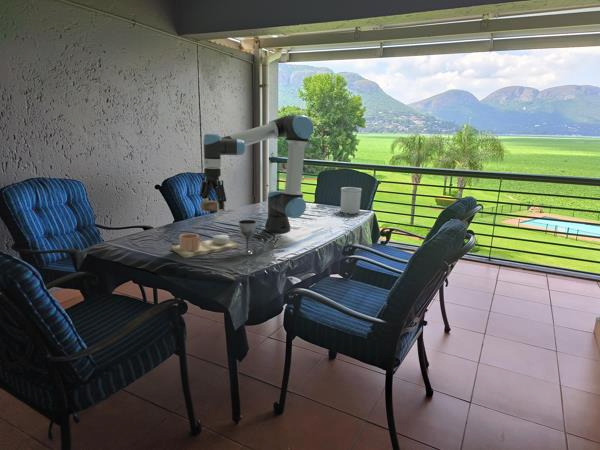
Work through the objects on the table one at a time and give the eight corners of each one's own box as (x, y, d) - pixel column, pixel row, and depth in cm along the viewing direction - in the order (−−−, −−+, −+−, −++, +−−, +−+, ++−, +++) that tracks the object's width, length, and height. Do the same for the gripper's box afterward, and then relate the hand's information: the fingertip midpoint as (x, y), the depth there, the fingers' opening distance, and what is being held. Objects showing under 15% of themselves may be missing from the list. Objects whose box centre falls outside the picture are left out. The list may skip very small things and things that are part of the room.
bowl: (203, 246, 182) (202, 234, 180) (193, 252, 173) (193, 239, 172) (185, 244, 184) (185, 232, 182) (176, 250, 175) (175, 237, 174)
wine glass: (239, 249, 184) (239, 219, 180) (256, 249, 184) (256, 219, 181) (238, 255, 176) (238, 223, 172) (255, 255, 177) (255, 223, 173)
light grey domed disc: (231, 241, 192) (231, 235, 191) (225, 245, 184) (225, 239, 183) (217, 239, 193) (216, 234, 193) (210, 244, 186) (209, 238, 185)
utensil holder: (340, 209, 287) (341, 186, 282) (359, 210, 285) (361, 187, 280) (339, 213, 272) (340, 189, 268) (360, 214, 270) (361, 190, 266)
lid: (228, 207, 186) (228, 201, 185) (218, 211, 176) (218, 205, 175) (207, 205, 188) (207, 199, 188) (196, 209, 178) (196, 203, 177)
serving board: (224, 240, 198) (224, 237, 198) (239, 247, 187) (239, 244, 187) (171, 249, 181) (171, 246, 180) (184, 257, 170) (184, 254, 169)
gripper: (191, 165, 182) (192, 210, 187) (220, 170, 167) (220, 219, 172) (205, 165, 188) (205, 208, 193) (234, 169, 172) (234, 217, 178)
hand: (212, 213), depth 182 cm, fingers closed on lid, 11 cm apart
